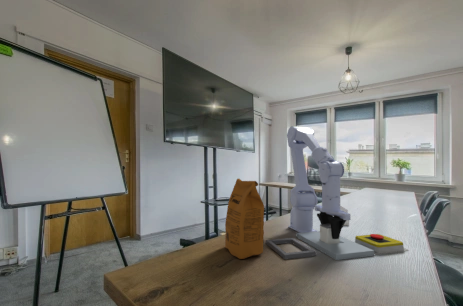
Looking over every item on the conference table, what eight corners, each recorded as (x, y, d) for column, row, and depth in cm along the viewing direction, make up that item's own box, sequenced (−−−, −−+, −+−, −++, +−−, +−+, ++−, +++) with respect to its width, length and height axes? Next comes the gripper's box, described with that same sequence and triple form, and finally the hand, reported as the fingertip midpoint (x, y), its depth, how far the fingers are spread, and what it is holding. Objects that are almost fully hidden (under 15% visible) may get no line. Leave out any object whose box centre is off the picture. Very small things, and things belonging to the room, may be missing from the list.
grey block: (320, 242, 74) (319, 224, 74) (332, 241, 75) (331, 223, 75) (327, 245, 70) (327, 227, 70) (339, 244, 72) (339, 226, 72)
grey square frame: (266, 243, 73) (266, 240, 73) (292, 241, 76) (292, 237, 76) (284, 259, 61) (285, 254, 61) (316, 255, 64) (316, 251, 64)
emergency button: (350, 232, 75) (382, 229, 79) (350, 245, 74) (382, 242, 79) (375, 242, 66) (409, 238, 70) (375, 256, 65) (410, 252, 70)
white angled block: (323, 216, 104) (333, 201, 104) (343, 228, 102) (352, 213, 102) (325, 218, 100) (335, 202, 100) (345, 230, 99) (355, 214, 98)
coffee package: (247, 242, 74) (248, 178, 75) (267, 256, 62) (268, 180, 64) (220, 246, 70) (222, 178, 71) (236, 262, 58) (238, 181, 60)
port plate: (296, 237, 80) (296, 232, 80) (327, 234, 84) (327, 230, 84) (336, 260, 61) (336, 254, 61) (374, 255, 65) (374, 250, 65)
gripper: (307, 193, 79) (307, 230, 79) (337, 199, 66) (337, 245, 65) (323, 193, 81) (323, 229, 81) (355, 199, 67) (356, 243, 67)
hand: (331, 236), depth 73 cm, fingers closed on grey block, 3 cm apart
